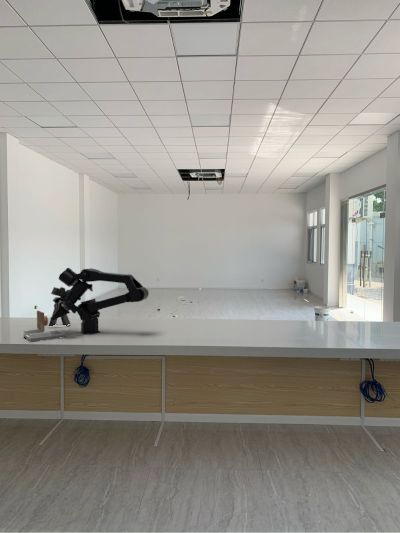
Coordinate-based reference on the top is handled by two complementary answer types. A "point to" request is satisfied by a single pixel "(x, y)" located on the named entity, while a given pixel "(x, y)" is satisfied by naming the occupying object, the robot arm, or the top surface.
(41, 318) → the press plate
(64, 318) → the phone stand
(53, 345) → the top surface
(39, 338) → the press base
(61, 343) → the top surface
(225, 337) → the top surface
